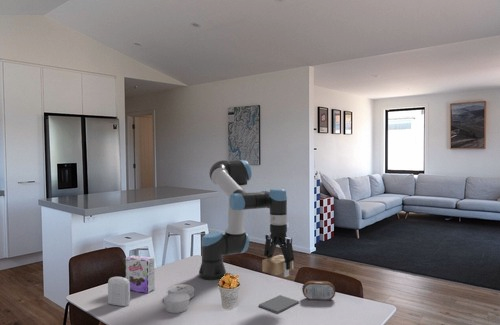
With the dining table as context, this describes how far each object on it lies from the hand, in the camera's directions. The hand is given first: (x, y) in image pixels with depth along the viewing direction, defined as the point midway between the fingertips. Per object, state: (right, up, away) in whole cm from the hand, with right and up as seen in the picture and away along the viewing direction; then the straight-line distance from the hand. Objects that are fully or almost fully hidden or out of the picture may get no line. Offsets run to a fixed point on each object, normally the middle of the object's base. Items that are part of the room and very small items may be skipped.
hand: (278, 274), depth 164 cm
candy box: (-68, -14, +20) cm, 72 cm away
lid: (-46, -14, +11) cm, 49 cm away
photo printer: (-72, -15, +3) cm, 74 cm away
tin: (+19, -14, +6) cm, 24 cm away
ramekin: (-45, -15, -3) cm, 47 cm away
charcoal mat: (0, -14, 0) cm, 14 cm away
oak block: (-5, +4, -5) cm, 8 cm away
